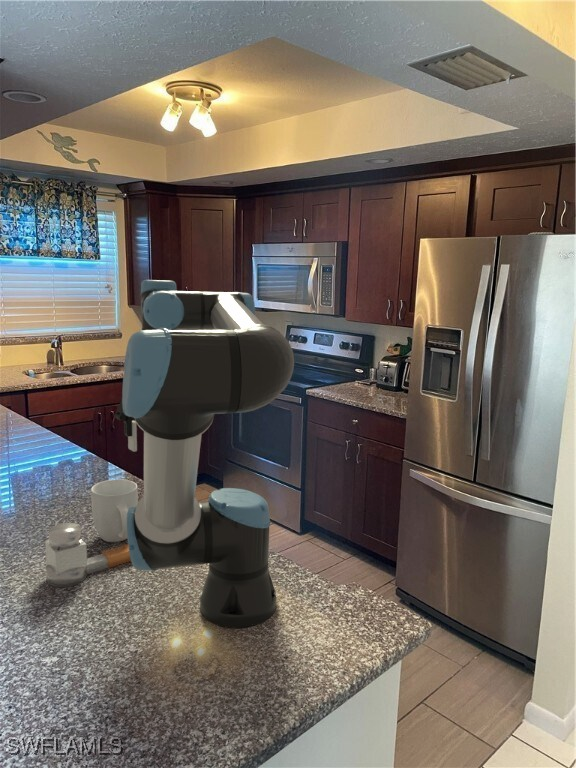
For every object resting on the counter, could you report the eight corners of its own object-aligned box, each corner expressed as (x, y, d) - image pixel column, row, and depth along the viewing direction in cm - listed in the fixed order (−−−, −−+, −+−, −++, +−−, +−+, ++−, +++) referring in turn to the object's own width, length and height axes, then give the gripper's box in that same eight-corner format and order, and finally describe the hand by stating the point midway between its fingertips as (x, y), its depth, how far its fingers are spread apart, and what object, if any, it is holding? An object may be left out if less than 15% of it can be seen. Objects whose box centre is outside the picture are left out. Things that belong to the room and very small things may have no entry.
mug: (150, 546, 135) (149, 495, 132) (104, 557, 129) (102, 504, 126) (130, 523, 147) (129, 476, 144) (87, 532, 141) (85, 483, 138)
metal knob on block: (87, 565, 119) (85, 530, 118) (56, 575, 115) (54, 539, 114) (76, 554, 124) (74, 520, 122) (46, 562, 120) (44, 528, 118)
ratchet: (150, 560, 128) (150, 535, 127) (54, 591, 114) (52, 564, 113) (135, 547, 134) (134, 523, 133) (41, 575, 120) (40, 549, 119)
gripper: (199, 346, 133) (199, 432, 137) (97, 353, 117) (100, 450, 121) (217, 350, 128) (216, 439, 131) (111, 357, 112) (114, 459, 115)
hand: (160, 444), depth 126 cm, fingers open, 13 cm apart
